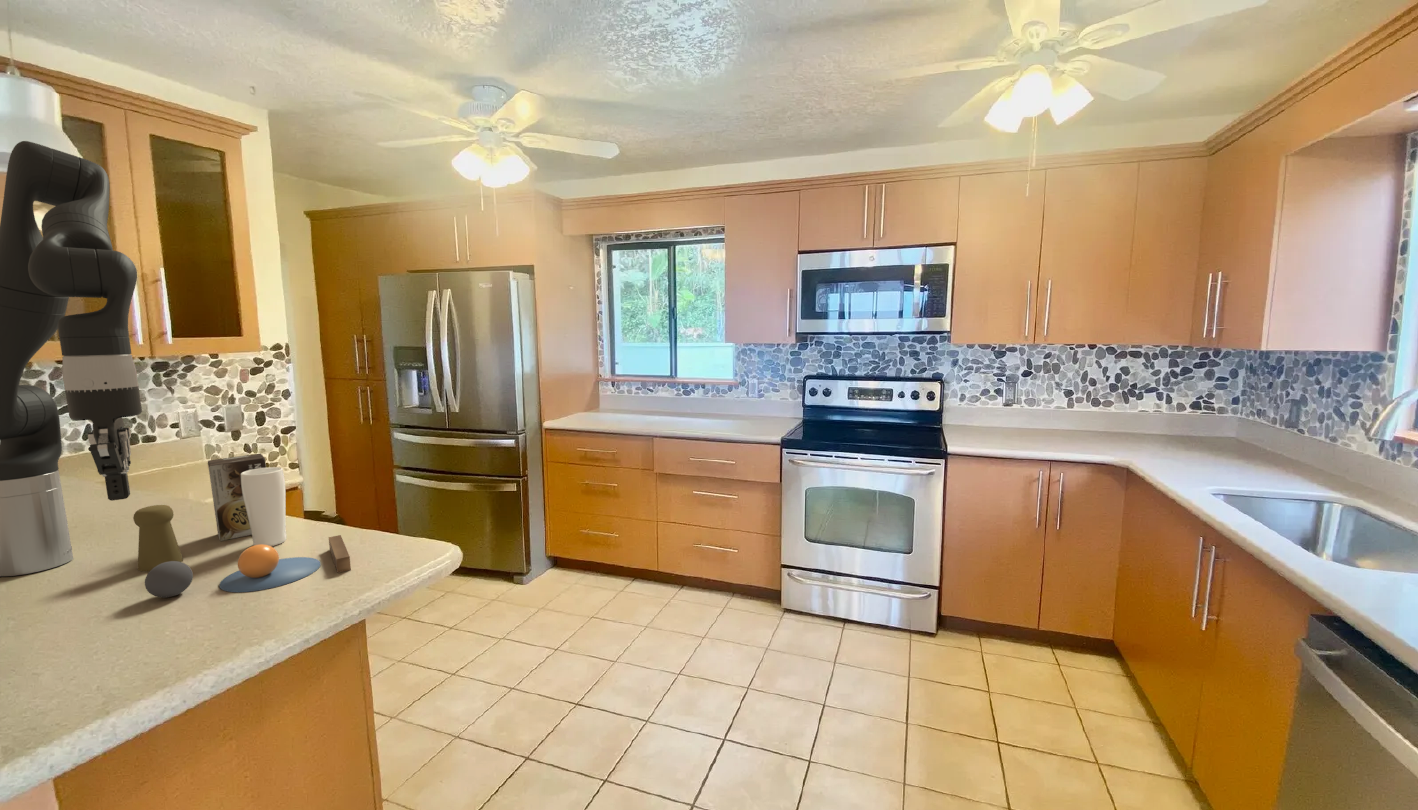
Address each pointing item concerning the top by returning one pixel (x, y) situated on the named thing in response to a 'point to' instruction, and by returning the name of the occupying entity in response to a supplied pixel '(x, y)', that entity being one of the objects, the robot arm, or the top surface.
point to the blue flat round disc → (272, 575)
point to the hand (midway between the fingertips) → (119, 498)
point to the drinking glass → (265, 504)
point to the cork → (156, 537)
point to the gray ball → (168, 579)
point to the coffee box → (231, 493)
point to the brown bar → (339, 554)
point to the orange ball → (258, 561)
